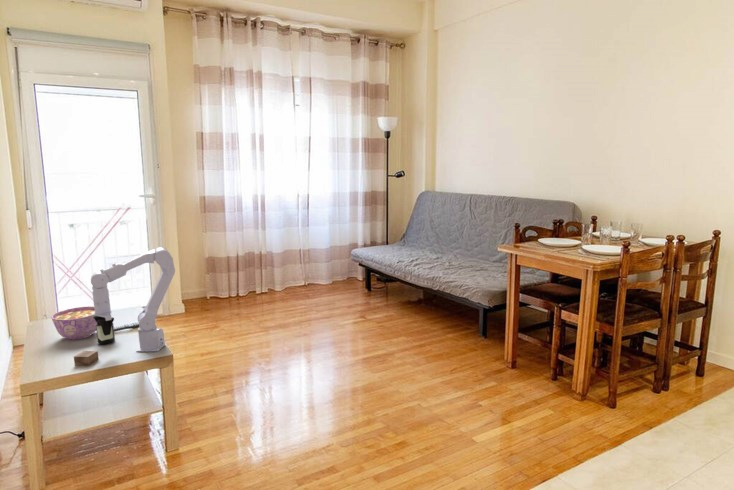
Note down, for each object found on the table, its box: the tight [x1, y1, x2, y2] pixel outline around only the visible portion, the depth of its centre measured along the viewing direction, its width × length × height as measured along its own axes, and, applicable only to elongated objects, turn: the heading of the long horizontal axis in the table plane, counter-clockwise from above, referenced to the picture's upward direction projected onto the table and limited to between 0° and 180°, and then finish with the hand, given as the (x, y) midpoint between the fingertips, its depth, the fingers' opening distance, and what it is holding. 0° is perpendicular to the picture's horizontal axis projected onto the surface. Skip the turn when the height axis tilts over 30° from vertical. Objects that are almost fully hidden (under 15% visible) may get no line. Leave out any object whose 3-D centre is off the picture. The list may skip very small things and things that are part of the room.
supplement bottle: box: [96, 322, 116, 346], centre depth 215 cm, size 7×7×12 cm
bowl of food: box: [50, 305, 97, 341], centre depth 223 cm, size 20×20×12 cm
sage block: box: [96, 326, 113, 341], centre depth 199 cm, size 4×4×5 cm
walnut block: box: [73, 350, 100, 367], centre depth 194 cm, size 6×6×4 cm
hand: (105, 333), depth 199 cm, fingers closed on sage block, 4 cm apart
